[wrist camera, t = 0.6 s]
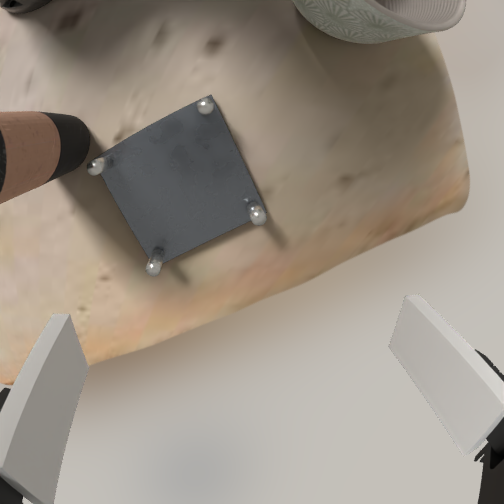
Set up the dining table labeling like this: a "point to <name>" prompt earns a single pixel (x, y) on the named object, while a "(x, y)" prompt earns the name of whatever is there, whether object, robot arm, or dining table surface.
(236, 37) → the dining table surface
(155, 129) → the stand
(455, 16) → the planter
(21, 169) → the travel mug
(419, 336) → the robot arm
